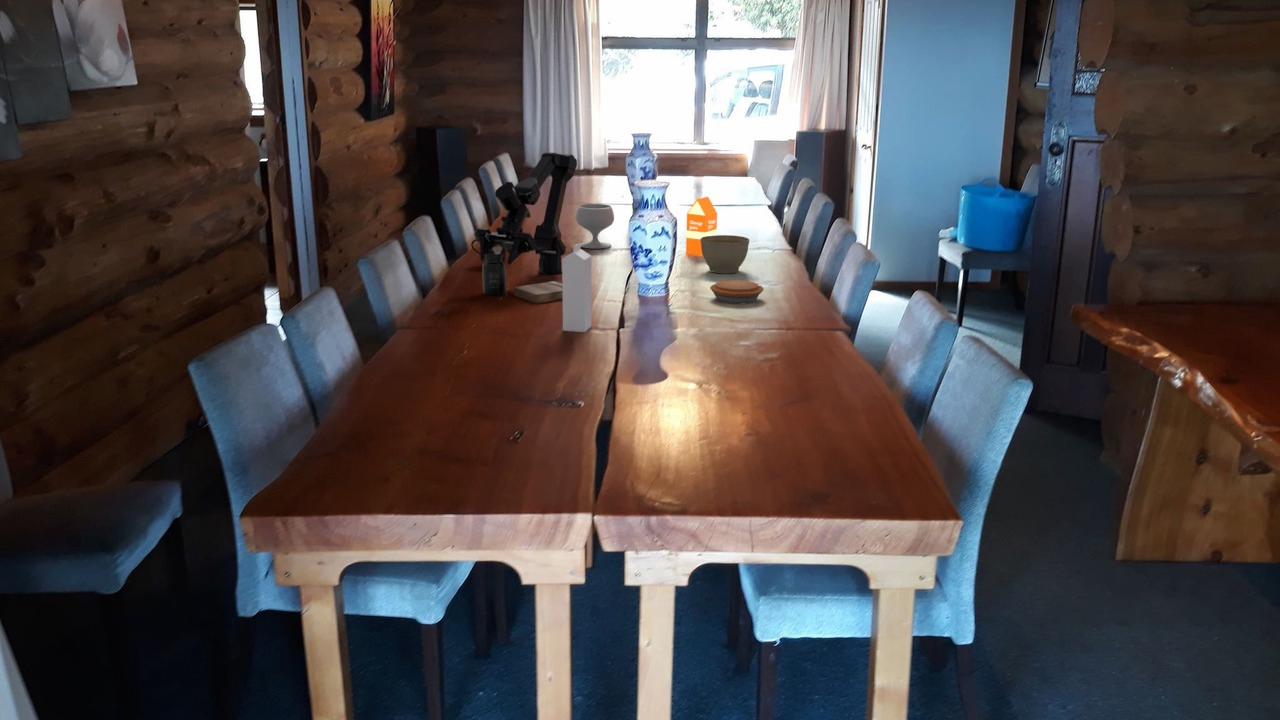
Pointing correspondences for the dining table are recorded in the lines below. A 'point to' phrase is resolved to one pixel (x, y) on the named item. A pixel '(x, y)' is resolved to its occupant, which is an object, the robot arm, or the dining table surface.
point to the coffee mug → (495, 249)
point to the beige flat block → (540, 292)
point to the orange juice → (700, 224)
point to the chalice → (595, 222)
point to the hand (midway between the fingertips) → (495, 262)
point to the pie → (736, 291)
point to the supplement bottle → (494, 274)
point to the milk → (576, 290)
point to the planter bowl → (724, 252)
